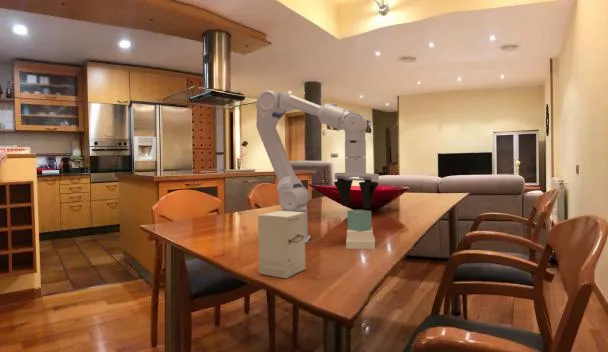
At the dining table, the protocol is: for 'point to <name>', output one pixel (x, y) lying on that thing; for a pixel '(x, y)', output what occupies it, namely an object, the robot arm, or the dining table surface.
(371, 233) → the top slab
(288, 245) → the supplement box
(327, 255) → the dining table surface
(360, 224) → the teal block
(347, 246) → the bottom slab
